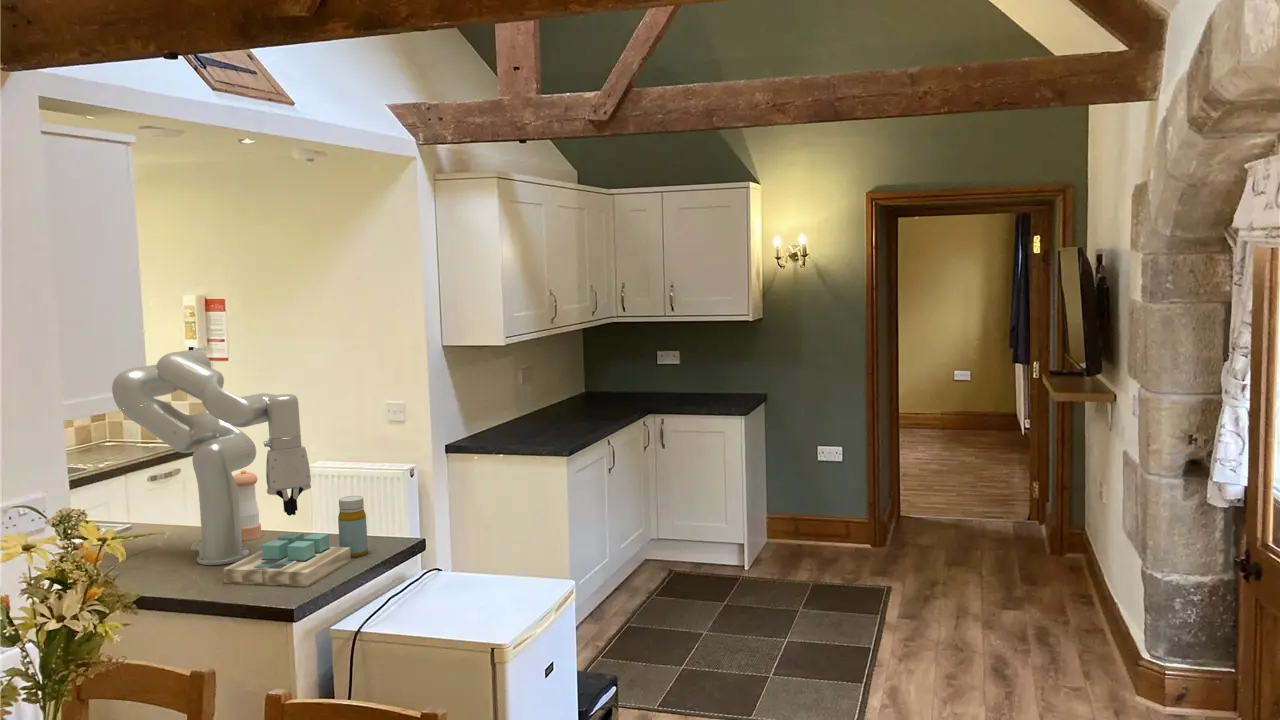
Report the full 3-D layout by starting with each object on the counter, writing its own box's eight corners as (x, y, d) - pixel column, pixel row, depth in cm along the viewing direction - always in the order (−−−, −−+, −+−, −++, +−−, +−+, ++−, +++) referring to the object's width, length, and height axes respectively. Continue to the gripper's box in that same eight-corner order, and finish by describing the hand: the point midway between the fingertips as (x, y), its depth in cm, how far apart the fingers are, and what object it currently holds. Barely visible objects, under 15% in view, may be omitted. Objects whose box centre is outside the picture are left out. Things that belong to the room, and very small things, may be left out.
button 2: (278, 550, 254) (277, 537, 254) (288, 545, 258) (287, 532, 258) (294, 551, 253) (293, 538, 253) (304, 546, 257) (303, 533, 257)
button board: (224, 583, 240) (223, 567, 240) (273, 557, 261) (272, 542, 261) (307, 586, 236) (306, 570, 236) (350, 560, 256) (350, 545, 256)
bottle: (360, 558, 258) (357, 501, 257) (335, 557, 259) (332, 501, 258) (372, 551, 265) (369, 495, 263) (348, 550, 266) (345, 495, 265)
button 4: (303, 551, 252) (302, 538, 252) (312, 546, 257) (312, 533, 257) (319, 552, 251) (319, 538, 251) (329, 547, 256) (328, 533, 256)
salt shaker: (265, 537, 282) (261, 470, 280) (239, 542, 277) (235, 474, 275) (255, 532, 287) (251, 466, 285) (229, 537, 282) (225, 470, 280)
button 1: (262, 558, 247) (261, 545, 247) (273, 553, 252) (272, 540, 251) (279, 559, 246) (278, 545, 246) (289, 554, 251) (288, 540, 250)
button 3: (288, 559, 246) (287, 546, 245) (298, 554, 250) (297, 540, 250) (305, 560, 245) (304, 546, 244) (314, 555, 249) (314, 541, 249)
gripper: (258, 449, 246) (264, 522, 247) (319, 441, 254) (324, 512, 256) (251, 445, 252) (257, 516, 254) (311, 437, 260) (316, 507, 262)
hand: (291, 514), depth 255 cm, fingers closed
